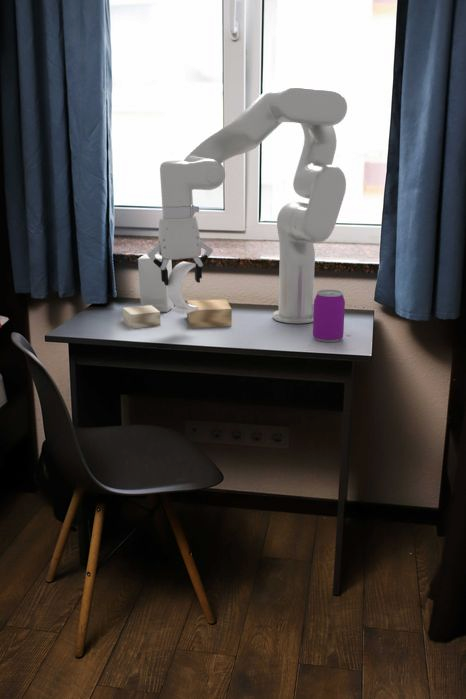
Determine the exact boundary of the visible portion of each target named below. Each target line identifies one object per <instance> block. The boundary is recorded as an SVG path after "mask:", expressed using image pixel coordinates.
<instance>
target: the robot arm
mask: <svg viewBox="0 0 466 699" xmlns="http://www.w3.org/2000/svg"><path fill="white" fill-rule="evenodd" d="M347 111H348V103H347V101H346V98H345V96H344V95H343V94H342V93H341V92H339V91H336V90H332V89H321V88H310V87H300V86H293V85H292V86H291V85H289V86H288V85H286V86H273V87H269V89H266V90H265V91H264V92H263V93H261V95H260V96H258V97H257V99H255V100H254V101H253V102H252V103H251V104H250V105H248V107H247V108H246V109H245V110H243V112H242V113H240V115H239V116H237V117H236V118H235V119H234V121H231V122H230V123H229V124H228V125H227V124H226V125H225V126H224V127H223V128H221V129H219V130H218V131H217V132H215V133H213V134H212V135H210V136H209V137H207V138H206V139H204V141H202V142H201V143H200V144H199V145H197V146H196V147H195V148H194V149H193V150H192V151H191V152H190V153H189V154H188V155H187V156H186V157H185V158H184V160H169V161H168V160H167V161H164V162H162V163H161V164H160V167H159V177H160V178H159V179H160V189H161V190H160V192H161V208H162V217H161V218H159V222H158V244H156V245H155V246H154V247H153V248H152V249H151V250H150V251H148V253H146V254H147V255H148V257H149V258H150V259H151V260H152V261H153V262H154V263H155V264H156V265H157V266H158V267H159V268H160V269H161V279H162V282H164V284H165V285H166V286H167V285H169V283H168V270H167V269H166V266H167V264H168V262H169V260H171V261H172V260H183V259H184V260H185V259H193V260H194V262H195V264H196V267H194V268H193V269H194V280H195V282H197V283H200V282H201V279H203V272H202V271H203V270H202V269H203V268H202V267H203V266H204V265H205V263H206V262H207V260H208V259H209V257H210V256H211V255H212V253H213V252H214V250H213V248H212V247H210V246H209V245H207V244H206V243H204V242H203V241H202V240H201V238H200V237H201V236H200V230H199V224H198V220H197V217H196V216H195V213H199V212H200V207H199V206H195V205H194V202H193V199H194V198H193V191H195V190H199V191H200V190H201V191H212V190H215V189H217V188H219V187H221V186H222V185H223V183H224V182H225V179H226V169H225V168H224V165H222V164H223V163H224V162H225V161H227V160H230V159H231V158H234V157H235V156H236V157H237V156H240V155H243V154H247V153H248V152H251V151H253V150H255V149H256V148H258V146H259V145H260V144H261V143H262V142H264V141H265V139H266V138H268V136H269V135H271V134H272V133H273V132H274V130H276V129H277V128H278V127H279V126H280V125H281V124H282V123H296V124H300V125H301V128H302V130H303V134H304V135H303V136H304V140H303V146H302V150H301V154H300V157H299V161H298V164H297V168H296V171H295V173H294V178H293V184H292V186H293V187H292V188H293V190H294V191H295V194H297V195H298V196H299V197H301V198H304V199H308V203H305V202H300V201H293V202H289V203H287V204H285V205H284V206H282V207H281V209H280V210H279V212H278V215H277V218H276V228H277V234H278V242H279V264H278V265H279V266H278V267H279V269H278V270H279V272H278V273H279V274H278V276H279V278H278V310H275V311H274V312H272V318H273V320H275V321H278V322H280V323H285V324H310V323H313V315H314V291H315V290H314V289H315V286H314V285H315V264H316V251H315V250H316V249H315V244H320V243H323V242H325V241H327V240H328V239H329V238H330V236H331V235H332V233H333V231H334V229H335V227H336V224H337V221H338V216H339V215H340V214H339V213H340V210H341V208H342V204H343V202H344V198H345V194H346V189H347V180H346V177H345V176H346V175H345V173H344V172H343V170H342V169H341V168H340V167H338V166H337V165H335V164H333V162H334V159H335V158H334V157H335V154H336V151H337V136H336V131H335V128H334V126H335V125H338V124H339V123H341V122H342V121H343V120H344V118H345V117H346V116H347ZM202 250H204V253H203V254H202ZM157 253H159V254H158V255H161V256H162V260H161V262H160V261H159V260H158V259H157V258H156V257H155V254H157ZM201 254H202V255H201Z"/></svg>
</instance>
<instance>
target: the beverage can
mask: <svg viewBox="0 0 466 699" xmlns="http://www.w3.org/2000/svg"><path fill="white" fill-rule="evenodd" d="M313 301H314V315H313V322H312V324H313V325H312V336H313V337H314V339H315V340H316V341H318V342H321V343H337V342H339V341H341V340H342V339H343V338H344V333H345V332H344V330H345V329H344V327H345V312H346V311H345V307H346V301H345V298H344V294H343V292H342V291H340V290H336V289H319V290H318V291H317V292H316V295H315V298H314V299H313Z"/></svg>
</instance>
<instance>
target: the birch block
mask: <svg viewBox="0 0 466 699" xmlns="http://www.w3.org/2000/svg"><path fill="white" fill-rule="evenodd" d="M122 314H123V315H122V317H123V322H124V323H125V324H126V325H127V326H128V327H129V328H130V329H138V328H139V329H140V328H147V327H157V326H159V327H160V326H161V312H160V311H158V310H157V309H156V308H155V307H153V306H152V305H147V306H141V305H138V306H137V305H136V306H128V307H127V306H126V307H122Z"/></svg>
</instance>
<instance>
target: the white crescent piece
mask: <svg viewBox="0 0 466 699" xmlns="http://www.w3.org/2000/svg"><path fill="white" fill-rule="evenodd" d="M195 263H196V262H195ZM195 263H194V262H189V261H184V260H183V261H181V262H179V263H177V264H176V265H175V266H174V267H172V271H171V273H170V275H169V278H168V283H169V285H167V291H168V295H169V298H170V300H171V301H172V303H173V304H174V307H173V308H172V309H171V312H175V313H178V314H183V315H187V313H189V312H192V311H196V310H198V306H194V305H189V304H187V301H186V300H185V299H184V295H183V282H184V279H185V277H186V275H187V274H188V273H189V272H190V271H191V270H193V269H195V268H194V267H196V264H195Z"/></svg>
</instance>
